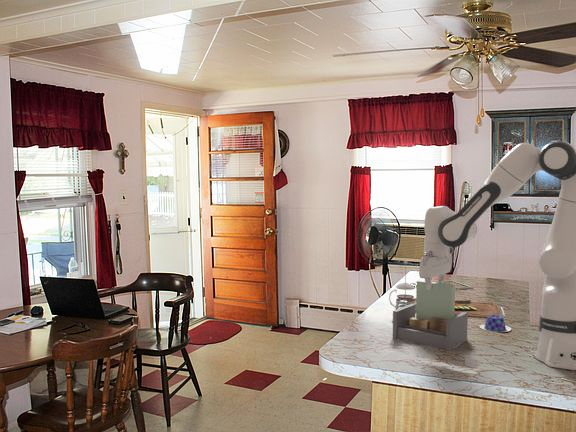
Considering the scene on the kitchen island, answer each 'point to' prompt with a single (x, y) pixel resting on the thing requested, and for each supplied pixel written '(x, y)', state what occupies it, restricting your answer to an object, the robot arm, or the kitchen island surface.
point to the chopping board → (475, 308)
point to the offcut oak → (420, 323)
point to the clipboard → (457, 283)
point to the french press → (405, 297)
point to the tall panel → (435, 300)
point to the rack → (444, 340)
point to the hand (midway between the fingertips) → (435, 287)
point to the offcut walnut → (438, 324)
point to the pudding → (495, 324)
